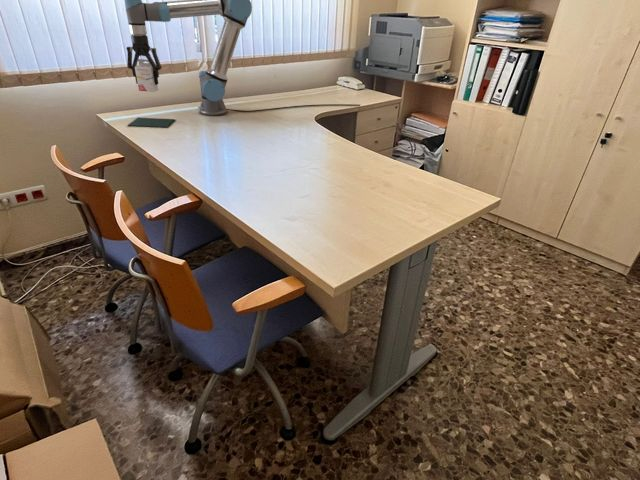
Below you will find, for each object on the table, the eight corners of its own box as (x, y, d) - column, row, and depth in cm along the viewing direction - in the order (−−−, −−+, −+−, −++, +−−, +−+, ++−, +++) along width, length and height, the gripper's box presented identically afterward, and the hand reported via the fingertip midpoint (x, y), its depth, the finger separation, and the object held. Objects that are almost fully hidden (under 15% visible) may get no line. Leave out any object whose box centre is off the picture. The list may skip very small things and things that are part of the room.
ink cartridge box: (138, 91, 203) (132, 60, 195) (143, 89, 207) (137, 58, 199) (154, 92, 203) (149, 61, 195) (158, 90, 207) (153, 59, 199)
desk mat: (175, 120, 217) (174, 119, 216) (167, 127, 205) (166, 126, 205) (138, 118, 216) (138, 117, 216) (128, 126, 204) (127, 125, 204)
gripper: (163, 35, 195) (170, 83, 207) (119, 32, 194) (129, 81, 206) (158, 36, 188) (166, 86, 200) (113, 34, 188) (123, 84, 200)
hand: (147, 83), depth 203 cm, fingers closed on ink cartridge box, 9 cm apart
